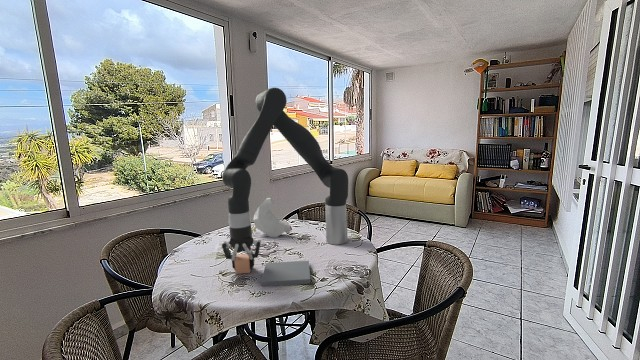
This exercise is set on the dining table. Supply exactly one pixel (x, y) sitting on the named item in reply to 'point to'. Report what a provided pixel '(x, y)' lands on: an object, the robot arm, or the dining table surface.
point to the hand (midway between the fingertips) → (243, 268)
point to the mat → (286, 273)
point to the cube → (242, 264)
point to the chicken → (269, 220)
